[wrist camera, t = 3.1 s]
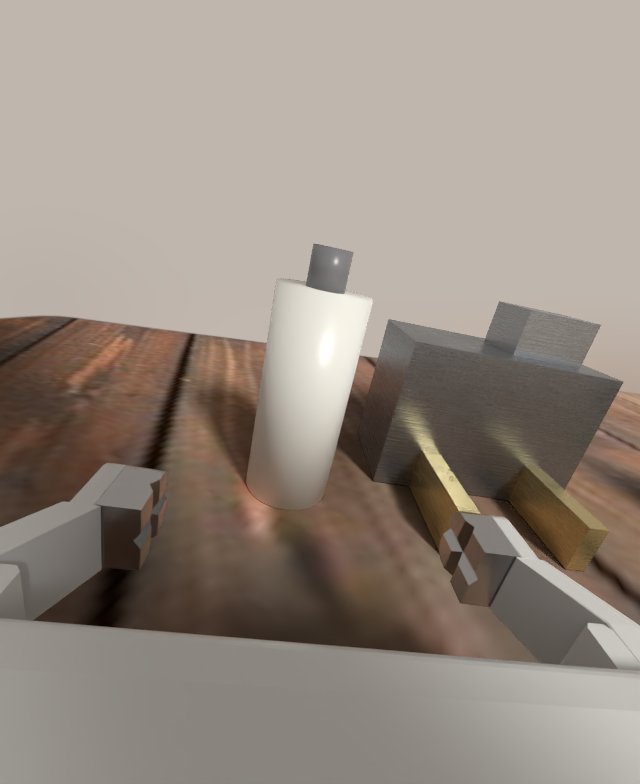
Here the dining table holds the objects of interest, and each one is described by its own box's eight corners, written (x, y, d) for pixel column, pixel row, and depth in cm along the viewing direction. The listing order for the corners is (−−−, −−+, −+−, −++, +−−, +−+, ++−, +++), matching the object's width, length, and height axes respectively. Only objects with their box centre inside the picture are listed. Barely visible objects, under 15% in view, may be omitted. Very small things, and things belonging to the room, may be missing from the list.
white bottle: (240, 504, 20) (280, 235, 15) (251, 455, 25) (284, 238, 20) (328, 515, 21) (394, 260, 16) (322, 465, 25) (372, 257, 20)
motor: (394, 549, 19) (483, 306, 14) (357, 432, 31) (399, 279, 26) (651, 579, 21) (801, 374, 16) (523, 458, 33) (589, 320, 28)
